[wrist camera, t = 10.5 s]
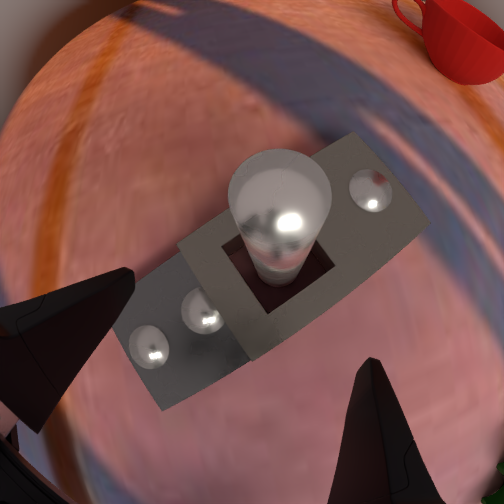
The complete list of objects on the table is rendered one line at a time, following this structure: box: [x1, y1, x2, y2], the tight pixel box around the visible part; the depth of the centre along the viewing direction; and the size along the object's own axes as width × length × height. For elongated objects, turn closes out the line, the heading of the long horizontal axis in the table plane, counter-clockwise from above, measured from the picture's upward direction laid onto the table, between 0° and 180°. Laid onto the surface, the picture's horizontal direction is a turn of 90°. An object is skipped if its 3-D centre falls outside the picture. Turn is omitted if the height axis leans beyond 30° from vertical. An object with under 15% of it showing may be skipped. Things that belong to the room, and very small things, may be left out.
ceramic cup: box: [392, 0, 504, 85], centre depth 20 cm, size 13×17×10 cm
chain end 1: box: [112, 240, 331, 411], centre depth 20 cm, size 18×9×2 cm, turn 124°
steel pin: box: [228, 149, 332, 287], centre depth 15 cm, size 3×3×12 cm
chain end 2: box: [176, 131, 431, 362], centre depth 19 cm, size 16×9×3 cm, turn 124°
